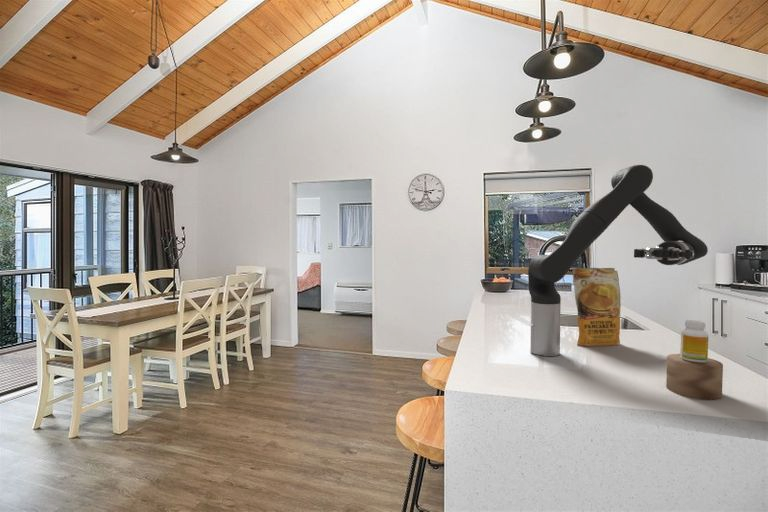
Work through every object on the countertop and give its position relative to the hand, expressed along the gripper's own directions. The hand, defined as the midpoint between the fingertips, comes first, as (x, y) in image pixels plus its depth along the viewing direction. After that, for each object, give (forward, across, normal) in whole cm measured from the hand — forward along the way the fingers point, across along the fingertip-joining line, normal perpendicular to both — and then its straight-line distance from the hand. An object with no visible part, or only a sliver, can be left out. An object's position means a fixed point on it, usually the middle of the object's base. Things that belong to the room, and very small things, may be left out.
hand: (655, 254), depth 112 cm
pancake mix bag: (-17, -22, +34) cm, 44 cm away
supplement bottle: (+11, +12, +26) cm, 31 cm away
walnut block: (+11, +12, +34) cm, 38 cm away
